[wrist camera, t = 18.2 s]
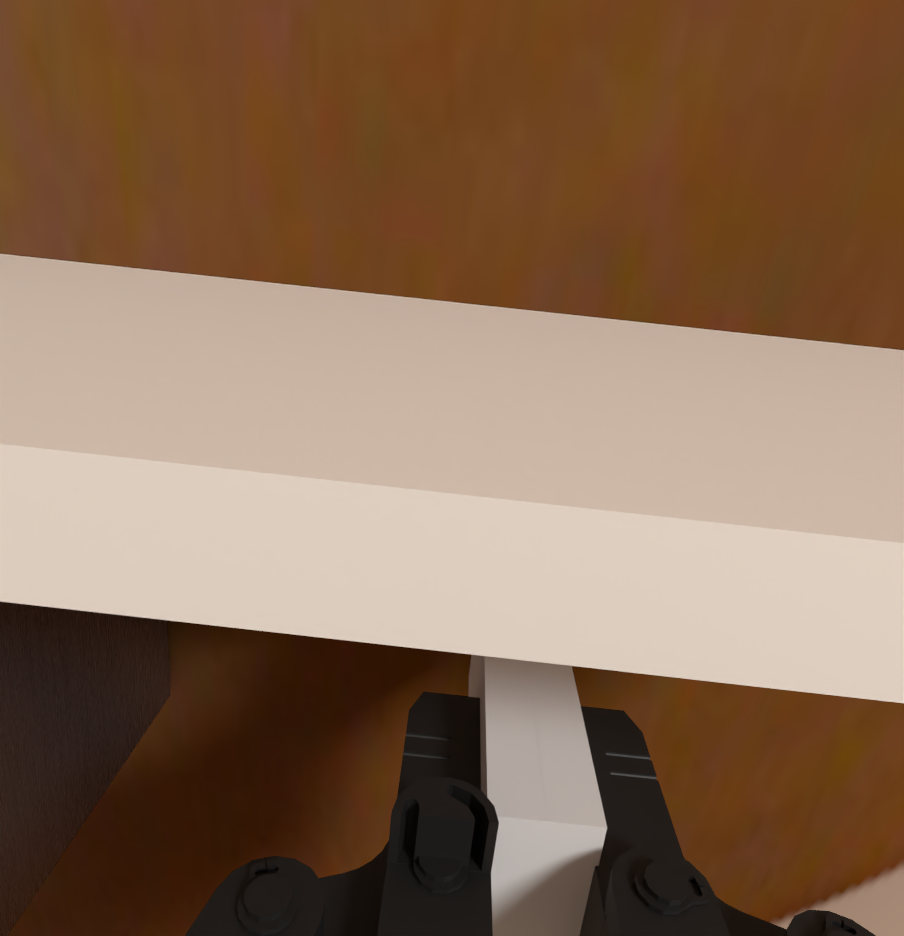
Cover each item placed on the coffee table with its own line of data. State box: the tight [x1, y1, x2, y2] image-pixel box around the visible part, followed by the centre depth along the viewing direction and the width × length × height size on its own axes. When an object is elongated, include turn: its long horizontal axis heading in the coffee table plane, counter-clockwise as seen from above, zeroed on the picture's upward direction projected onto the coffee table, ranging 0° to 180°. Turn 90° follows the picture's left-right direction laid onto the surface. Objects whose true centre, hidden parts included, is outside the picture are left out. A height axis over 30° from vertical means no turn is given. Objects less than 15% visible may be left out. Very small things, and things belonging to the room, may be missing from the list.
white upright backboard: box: [0, 254, 904, 703], centre depth 12 cm, size 32×12×12 cm, turn 84°
